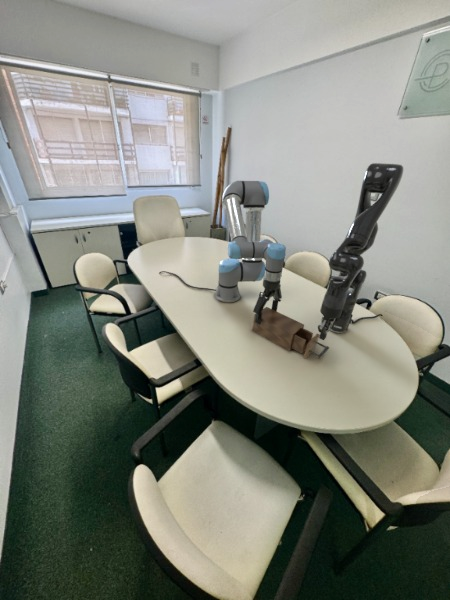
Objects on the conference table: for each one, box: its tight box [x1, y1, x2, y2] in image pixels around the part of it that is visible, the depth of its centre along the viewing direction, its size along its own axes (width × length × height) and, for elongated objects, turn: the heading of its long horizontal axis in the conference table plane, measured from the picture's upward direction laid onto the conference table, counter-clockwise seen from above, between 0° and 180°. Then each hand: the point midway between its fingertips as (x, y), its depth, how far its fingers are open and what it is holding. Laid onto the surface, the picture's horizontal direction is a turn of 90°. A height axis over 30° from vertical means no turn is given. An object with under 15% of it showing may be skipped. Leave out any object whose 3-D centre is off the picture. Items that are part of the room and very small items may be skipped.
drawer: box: [291, 328, 330, 360], centre depth 109 cm, size 25×9×8 cm, turn 47°
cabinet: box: [252, 306, 305, 352], centre depth 116 cm, size 21×10×10 cm, turn 47°
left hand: (266, 317), depth 119 cm, fingers open, 13 cm apart
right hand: (322, 338), depth 101 cm, fingers closed
